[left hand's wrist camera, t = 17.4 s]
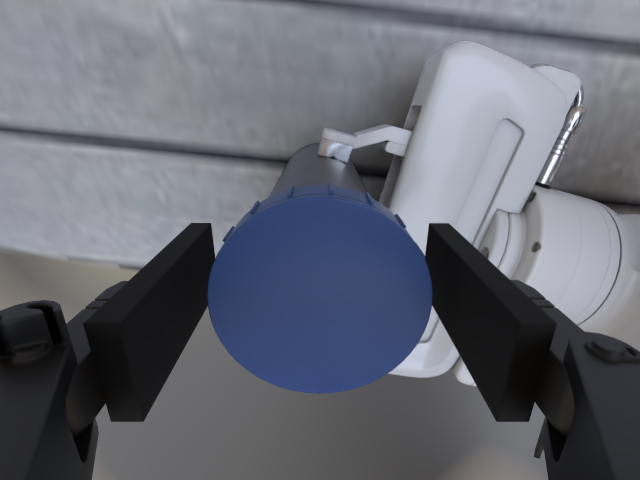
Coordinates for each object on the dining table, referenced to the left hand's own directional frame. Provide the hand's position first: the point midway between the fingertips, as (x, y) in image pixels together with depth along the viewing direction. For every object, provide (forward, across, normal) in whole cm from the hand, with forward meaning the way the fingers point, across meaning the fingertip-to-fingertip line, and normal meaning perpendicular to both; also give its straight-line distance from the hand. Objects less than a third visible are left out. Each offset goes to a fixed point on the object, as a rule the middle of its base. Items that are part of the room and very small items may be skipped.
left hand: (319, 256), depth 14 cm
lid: (-3, 0, 0) cm, 3 cm away
